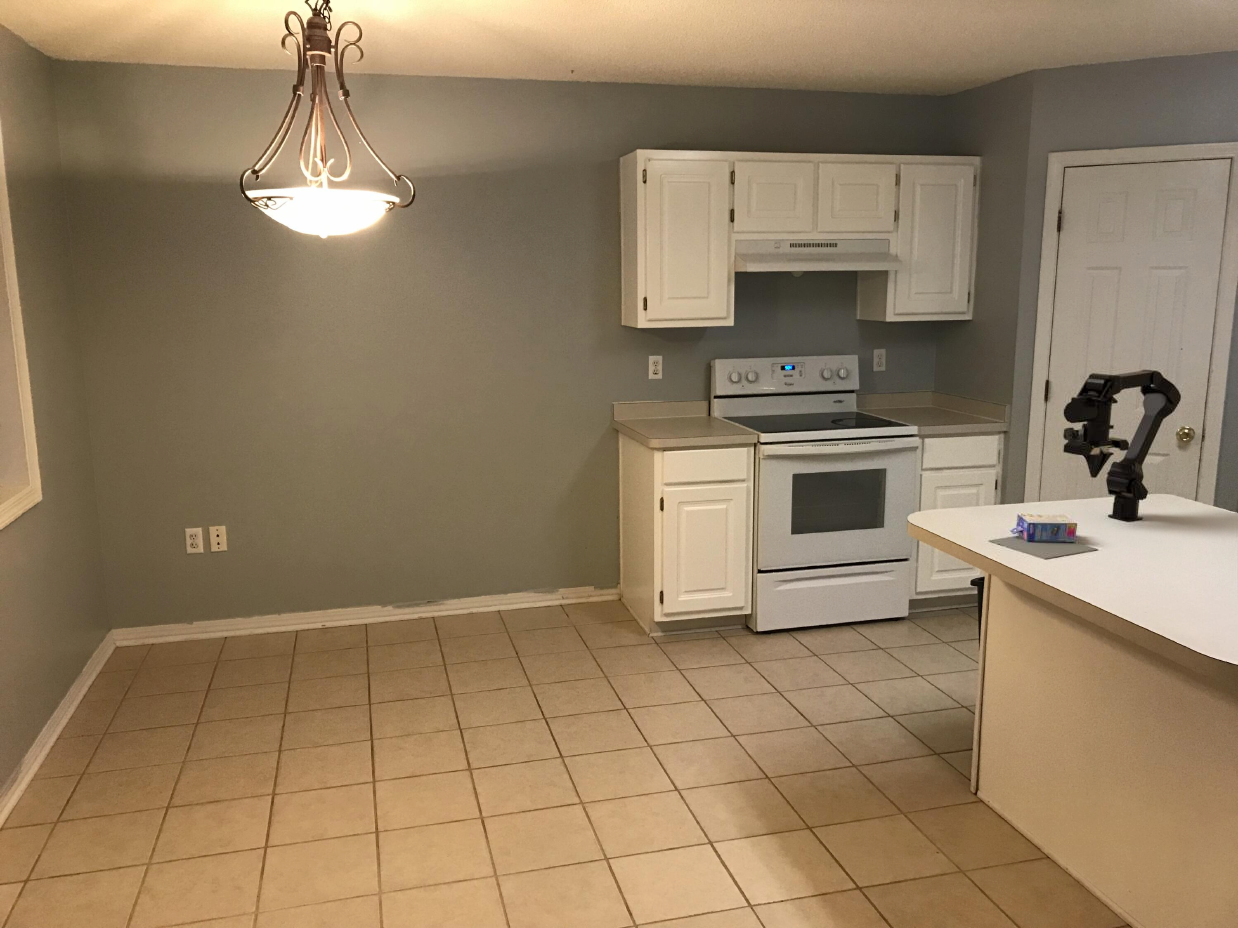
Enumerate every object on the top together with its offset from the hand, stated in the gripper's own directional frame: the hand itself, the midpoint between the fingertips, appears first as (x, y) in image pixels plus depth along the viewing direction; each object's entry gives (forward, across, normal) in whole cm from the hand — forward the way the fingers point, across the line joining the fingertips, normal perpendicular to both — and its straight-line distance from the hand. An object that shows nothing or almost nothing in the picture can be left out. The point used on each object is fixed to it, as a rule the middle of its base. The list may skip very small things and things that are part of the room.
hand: (1093, 477), depth 267 cm
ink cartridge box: (+10, +18, +9) cm, 23 cm away
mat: (+13, +29, +10) cm, 33 cm away
